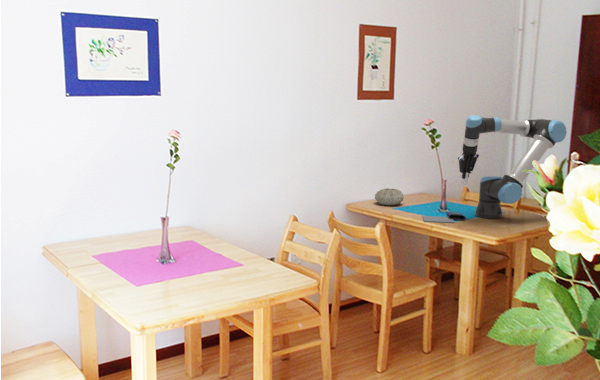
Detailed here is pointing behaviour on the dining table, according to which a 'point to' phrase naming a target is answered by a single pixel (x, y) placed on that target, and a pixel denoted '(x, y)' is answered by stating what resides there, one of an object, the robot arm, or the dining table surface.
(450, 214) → the flask
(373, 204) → the dining table surface
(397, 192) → the cratered grey rock
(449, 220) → the mat
